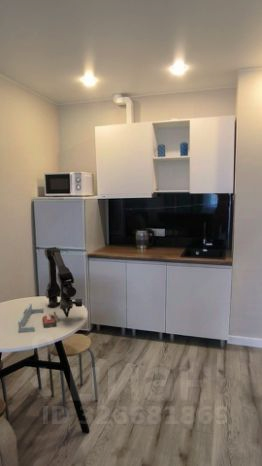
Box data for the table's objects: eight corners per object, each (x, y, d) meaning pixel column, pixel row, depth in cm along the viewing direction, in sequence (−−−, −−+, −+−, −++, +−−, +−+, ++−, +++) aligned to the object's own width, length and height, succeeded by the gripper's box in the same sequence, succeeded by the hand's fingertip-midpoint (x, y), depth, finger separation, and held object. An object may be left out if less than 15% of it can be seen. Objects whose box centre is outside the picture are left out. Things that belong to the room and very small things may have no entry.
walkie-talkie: (60, 327, 179) (56, 313, 198) (59, 319, 179) (55, 307, 197) (43, 329, 176) (41, 316, 195) (43, 322, 176) (41, 309, 194)
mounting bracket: (30, 312, 199) (29, 302, 198) (43, 312, 200) (42, 301, 199) (19, 332, 173) (18, 320, 172) (34, 331, 174) (33, 319, 173)
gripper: (46, 297, 177) (48, 324, 179) (80, 296, 178) (81, 322, 181) (50, 290, 188) (51, 315, 190) (82, 289, 189) (83, 314, 192)
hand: (67, 317), depth 188 cm, fingers closed
